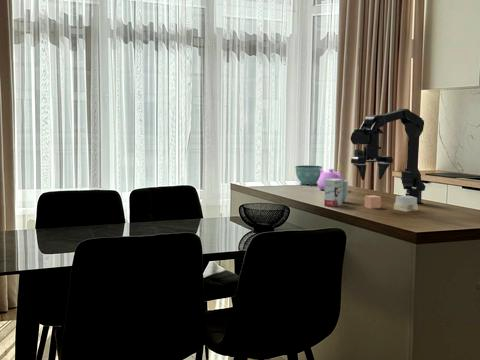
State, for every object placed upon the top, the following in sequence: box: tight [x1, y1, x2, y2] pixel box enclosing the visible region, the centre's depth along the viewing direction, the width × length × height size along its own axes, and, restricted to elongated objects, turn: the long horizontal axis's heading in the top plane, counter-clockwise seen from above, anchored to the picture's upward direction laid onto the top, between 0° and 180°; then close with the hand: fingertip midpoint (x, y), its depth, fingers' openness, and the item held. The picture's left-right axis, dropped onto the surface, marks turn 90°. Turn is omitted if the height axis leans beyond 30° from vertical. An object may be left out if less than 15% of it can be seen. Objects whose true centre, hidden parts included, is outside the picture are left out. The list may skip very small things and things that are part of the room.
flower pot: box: [294, 165, 323, 186], centre depth 338 cm, size 16×16×11 cm
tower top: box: [395, 195, 417, 205], centre depth 240 cm, size 6×6×3 cm
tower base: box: [393, 202, 419, 213], centre depth 240 cm, size 7×7×3 cm
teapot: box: [317, 168, 344, 191], centre depth 309 cm, size 20×13×12 cm, turn 27°
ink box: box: [323, 178, 344, 208], centre depth 250 cm, size 9×5×12 cm, turn 143°
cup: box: [342, 179, 349, 203], centre depth 261 cm, size 8×8×10 cm
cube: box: [364, 194, 382, 209], centre depth 246 cm, size 5×5×5 cm
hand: (371, 179), depth 246 cm, fingers open, 9 cm apart
